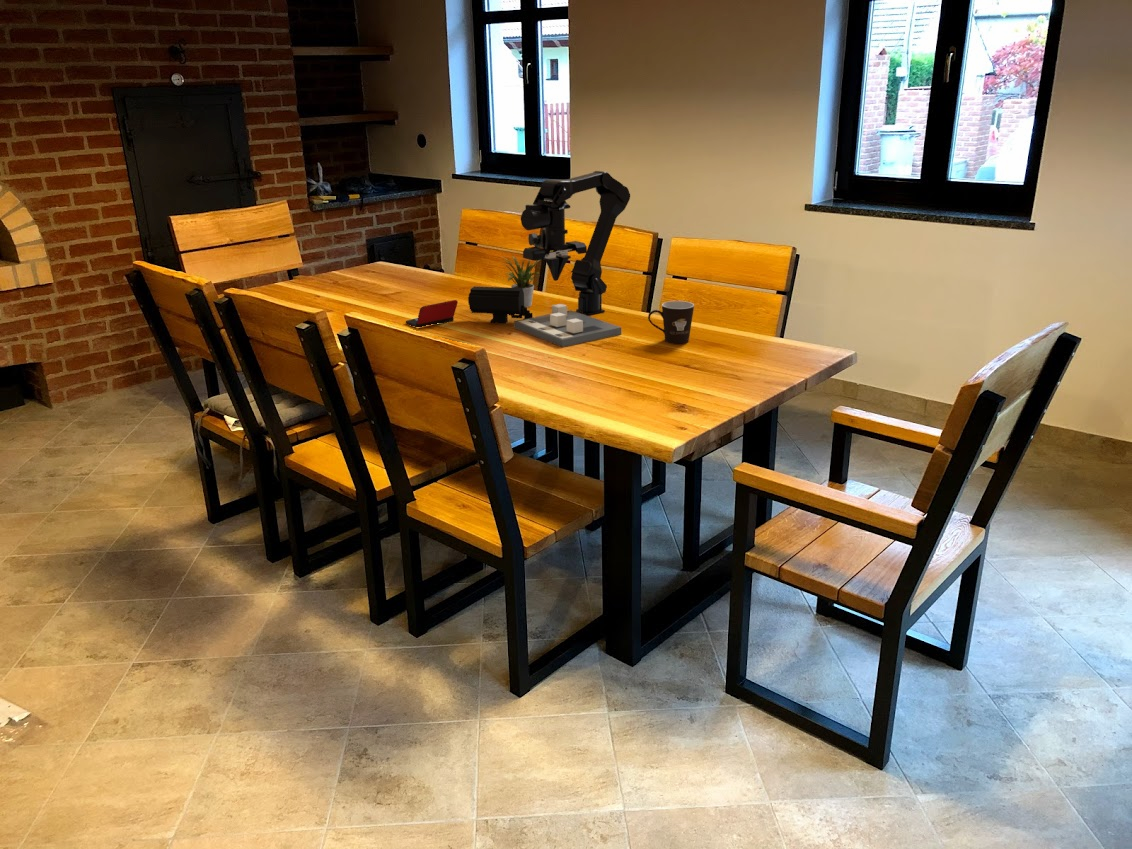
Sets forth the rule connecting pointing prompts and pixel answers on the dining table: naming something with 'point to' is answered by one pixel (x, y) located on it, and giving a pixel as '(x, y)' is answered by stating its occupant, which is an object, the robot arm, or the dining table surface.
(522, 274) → the house plant
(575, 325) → the tab
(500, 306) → the security camera
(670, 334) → the coffee mug
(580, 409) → the dining table surface
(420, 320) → the handheld game console
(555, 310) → the tab
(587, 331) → the switch bank
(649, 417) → the dining table surface
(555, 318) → the tab
